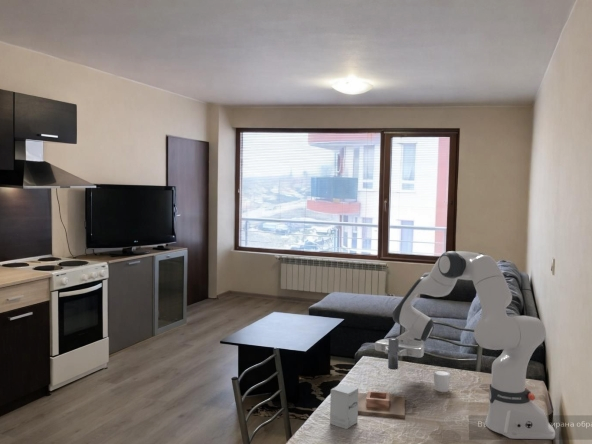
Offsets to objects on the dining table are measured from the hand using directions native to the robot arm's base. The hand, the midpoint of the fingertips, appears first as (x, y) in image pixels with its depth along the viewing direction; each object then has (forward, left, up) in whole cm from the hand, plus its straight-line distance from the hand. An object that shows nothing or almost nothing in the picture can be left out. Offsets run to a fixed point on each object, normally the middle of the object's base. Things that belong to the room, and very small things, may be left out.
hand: (392, 352), depth 218 cm
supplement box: (+16, +34, -17) cm, 41 cm away
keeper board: (+5, +16, -16) cm, 23 cm away
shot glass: (-20, -8, -17) cm, 27 cm away
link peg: (0, -1, -7) cm, 7 cm away
